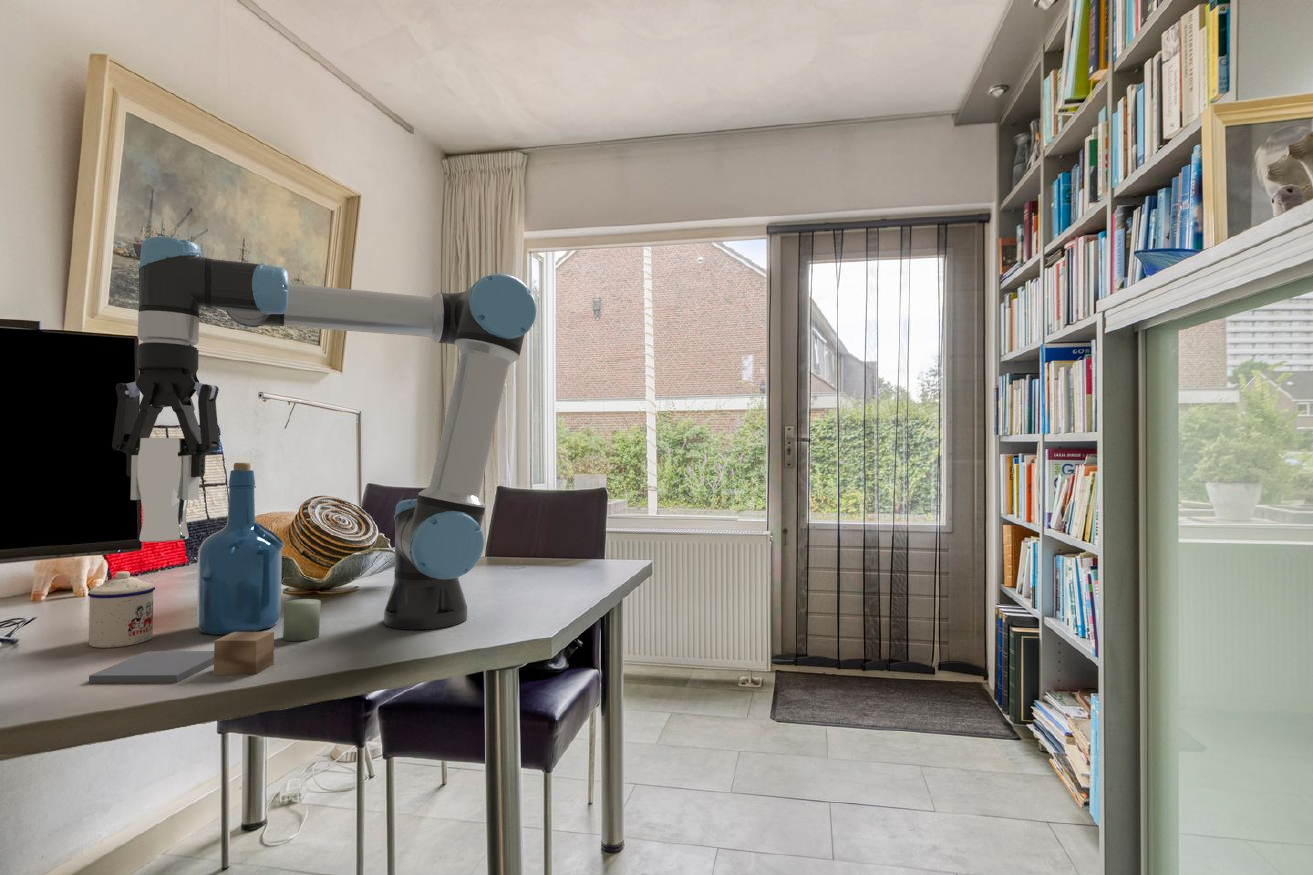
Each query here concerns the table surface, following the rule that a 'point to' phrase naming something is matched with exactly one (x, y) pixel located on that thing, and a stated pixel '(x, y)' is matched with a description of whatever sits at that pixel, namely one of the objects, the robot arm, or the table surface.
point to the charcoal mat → (155, 667)
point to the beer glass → (162, 489)
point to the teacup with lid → (121, 612)
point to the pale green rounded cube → (301, 619)
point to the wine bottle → (239, 567)
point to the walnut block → (243, 653)
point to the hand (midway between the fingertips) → (165, 499)
